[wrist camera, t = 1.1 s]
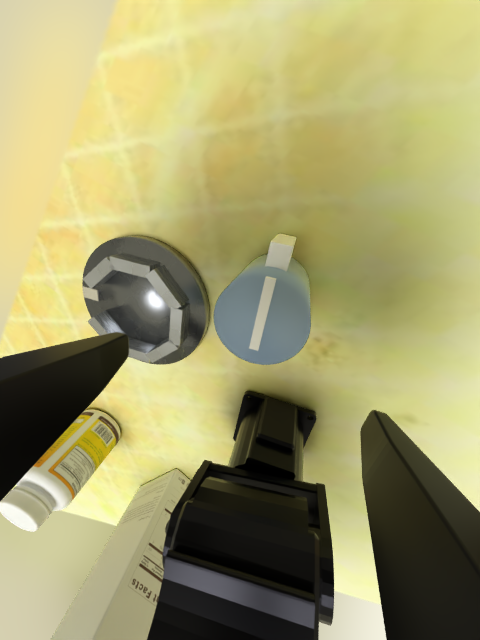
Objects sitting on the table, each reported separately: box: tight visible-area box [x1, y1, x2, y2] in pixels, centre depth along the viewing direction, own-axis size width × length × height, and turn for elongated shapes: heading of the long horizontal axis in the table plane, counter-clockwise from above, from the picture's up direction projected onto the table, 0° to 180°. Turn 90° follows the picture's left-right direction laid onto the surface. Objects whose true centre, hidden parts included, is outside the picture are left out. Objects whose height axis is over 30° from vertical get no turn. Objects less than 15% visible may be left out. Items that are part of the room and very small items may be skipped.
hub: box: [83, 236, 210, 364], centre depth 20 cm, size 11×11×2 cm
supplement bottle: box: [0, 409, 120, 531], centre depth 26 cm, size 6×6×10 cm
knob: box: [214, 233, 311, 365], centre depth 15 cm, size 6×5×6 cm
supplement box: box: [51, 469, 191, 640], centre depth 26 cm, size 9×9×15 cm
